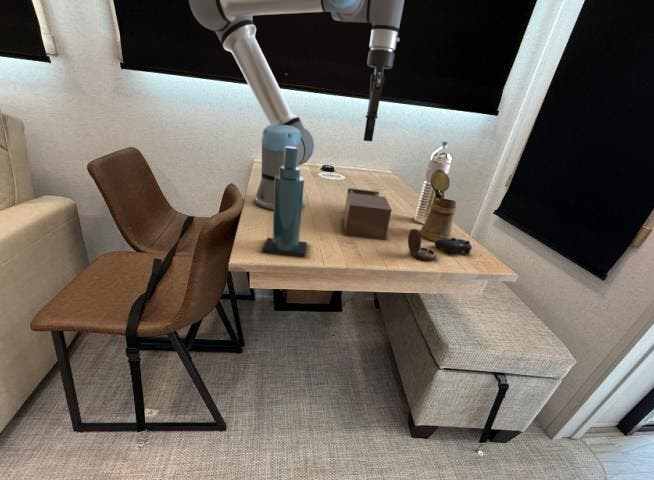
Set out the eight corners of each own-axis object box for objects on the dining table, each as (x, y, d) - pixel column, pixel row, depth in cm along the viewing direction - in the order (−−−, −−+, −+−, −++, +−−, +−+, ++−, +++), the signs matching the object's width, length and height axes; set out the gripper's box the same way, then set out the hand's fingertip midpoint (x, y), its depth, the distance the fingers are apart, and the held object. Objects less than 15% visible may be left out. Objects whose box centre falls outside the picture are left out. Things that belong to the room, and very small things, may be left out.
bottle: (274, 239, 82) (278, 143, 71) (299, 242, 82) (307, 147, 71) (270, 249, 77) (273, 147, 65) (297, 252, 77) (305, 151, 65)
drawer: (344, 204, 117) (347, 184, 113) (373, 207, 117) (377, 188, 113) (346, 219, 102) (349, 197, 99) (379, 223, 103) (383, 201, 99)
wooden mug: (436, 227, 109) (454, 170, 99) (454, 243, 97) (476, 180, 88) (411, 225, 107) (426, 167, 98) (426, 241, 96) (446, 177, 86)
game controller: (461, 242, 96) (475, 234, 90) (464, 259, 95) (479, 252, 89) (432, 241, 94) (444, 233, 88) (435, 259, 93) (447, 252, 87)
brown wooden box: (343, 219, 105) (347, 192, 100) (379, 223, 105) (385, 196, 101) (344, 234, 93) (349, 204, 89) (385, 239, 94) (391, 209, 89)
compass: (440, 261, 84) (449, 235, 80) (411, 260, 83) (419, 233, 79) (426, 248, 91) (434, 223, 87) (400, 247, 89) (406, 222, 86)
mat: (267, 241, 83) (267, 237, 83) (306, 245, 83) (307, 242, 83) (262, 252, 77) (262, 248, 77) (304, 257, 78) (304, 253, 77)
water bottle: (428, 226, 108) (453, 144, 95) (409, 220, 112) (431, 140, 98) (436, 222, 113) (460, 143, 100) (417, 216, 117) (438, 139, 103)
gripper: (398, 49, 89) (381, 144, 101) (392, 54, 100) (377, 140, 112) (370, 46, 89) (357, 141, 101) (367, 52, 100) (355, 137, 112)
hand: (367, 140), depth 107 cm, fingers closed
